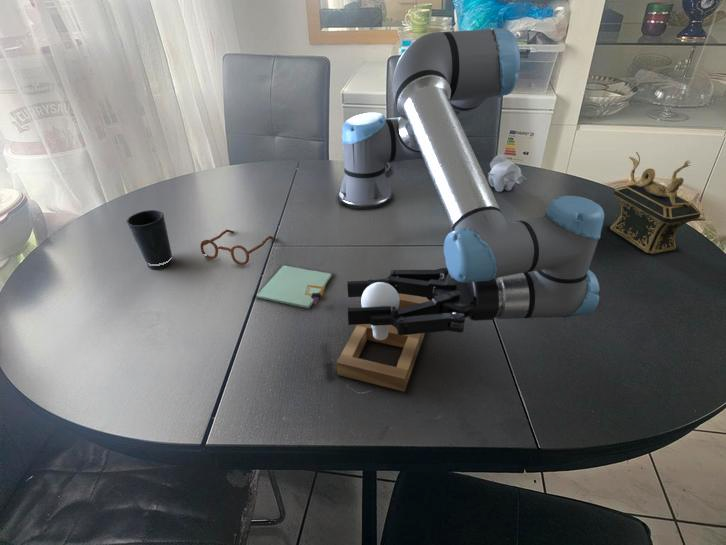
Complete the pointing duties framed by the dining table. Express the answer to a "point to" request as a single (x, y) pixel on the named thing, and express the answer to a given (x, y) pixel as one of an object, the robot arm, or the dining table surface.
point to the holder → (378, 372)
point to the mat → (293, 286)
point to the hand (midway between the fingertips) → (348, 302)
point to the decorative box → (652, 211)
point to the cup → (151, 237)
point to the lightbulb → (380, 303)
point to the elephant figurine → (504, 174)
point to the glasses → (231, 248)
